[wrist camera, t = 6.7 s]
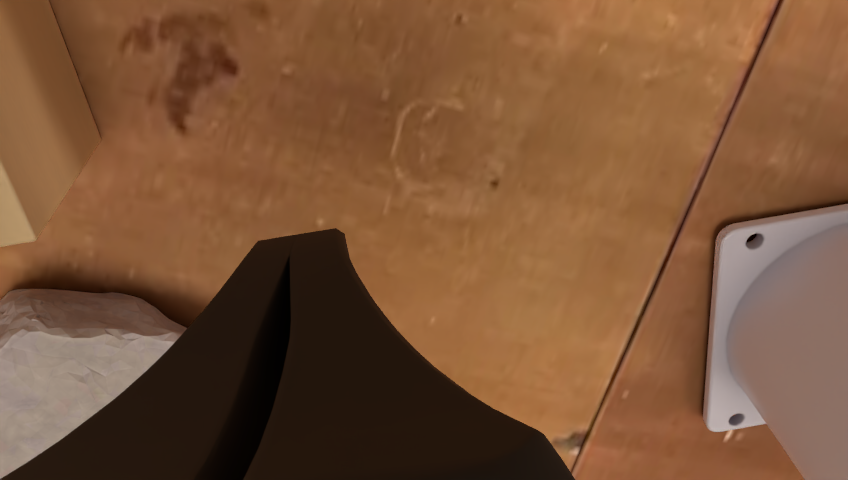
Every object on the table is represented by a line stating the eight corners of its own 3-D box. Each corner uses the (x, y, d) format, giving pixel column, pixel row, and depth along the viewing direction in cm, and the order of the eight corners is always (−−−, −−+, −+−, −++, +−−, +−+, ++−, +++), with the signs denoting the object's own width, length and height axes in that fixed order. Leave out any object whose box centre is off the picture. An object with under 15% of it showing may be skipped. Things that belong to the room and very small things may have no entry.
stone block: (22, 217, 22) (-92, 497, 24) (-29, 288, 17) (-163, 622, 20) (389, 352, 26) (264, 577, 28) (422, 435, 22) (272, 694, 24)
